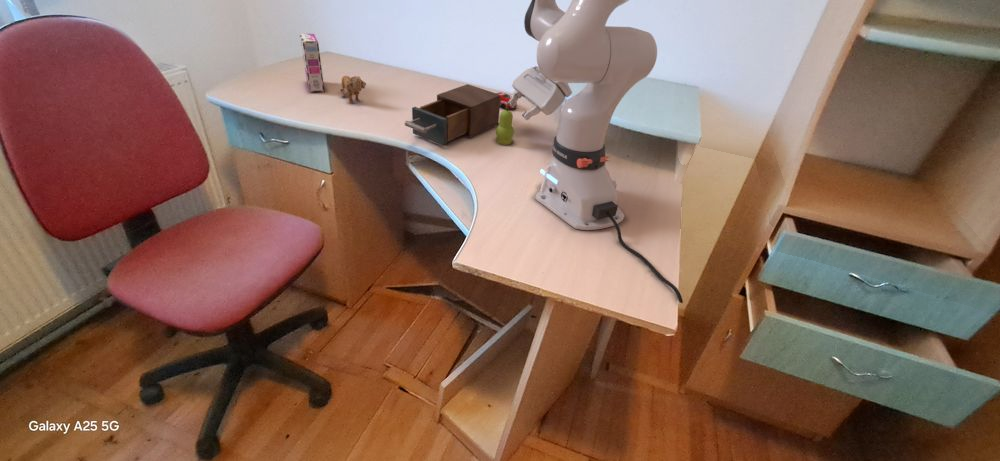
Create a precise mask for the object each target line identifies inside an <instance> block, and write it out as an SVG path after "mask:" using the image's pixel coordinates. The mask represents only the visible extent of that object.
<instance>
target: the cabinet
mask: <svg viewBox="0 0 1000 461" xmlns="http://www.w3.org/2000/svg"><path fill="white" fill-rule="evenodd" d="M496 93H497V92H493V91H490V90H486V89H484V88H481V87H477V86H475V85H472V84H469V83H466V84H463V85H461V86H458V87H455V88H452V89H449V90H447V91H444V92H441V93H438V94H436V101H438V100H440V99H443V100H446V101H449V102H452V103H455V104H457V105H460V106H463V107H466V108H469V127H468V133H465V134H463V135H462V136H464V137H466V138H468V139H471V138H473V137H475V136H477V135H479V134H482V133H484V132H485V131H488V130H490V129H492V128H495V126H498V125H499V124H500V111H501V110H500V109H501V107H500V99H501V98H500V97H501V95H499V94H496Z"/></svg>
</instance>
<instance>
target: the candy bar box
mask: <svg viewBox="0 0 1000 461" xmlns="http://www.w3.org/2000/svg"><path fill="white" fill-rule="evenodd" d="M299 39H300V45H301V46H300V47H301V53H302V60H303V66H304V73H305V78H306V83H307V87H308V89H309V93H323V92H325V91H326V90H325V84H324V76H323V68H322V62H321V53H320V46H319V45H320V44H319V41H318V38H317V37H316V35H315V33H299Z"/></svg>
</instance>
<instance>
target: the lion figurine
mask: <svg viewBox="0 0 1000 461" xmlns="http://www.w3.org/2000/svg"><path fill="white" fill-rule="evenodd" d="M366 85H367V82H365V81H363V80H362V79H361V76H360V75H354V76H349V75H343V76H342V77H341V89H340V92H342V94H341V97H342V98H346V91H347V96H348V100H349V102H348V103H349V104H351V105H353V104H354V100H355V102H357V103H359V102H361V100H360V99H359V94H360V92H362V90H364V89H366ZM353 96H354V100H353Z"/></svg>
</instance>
